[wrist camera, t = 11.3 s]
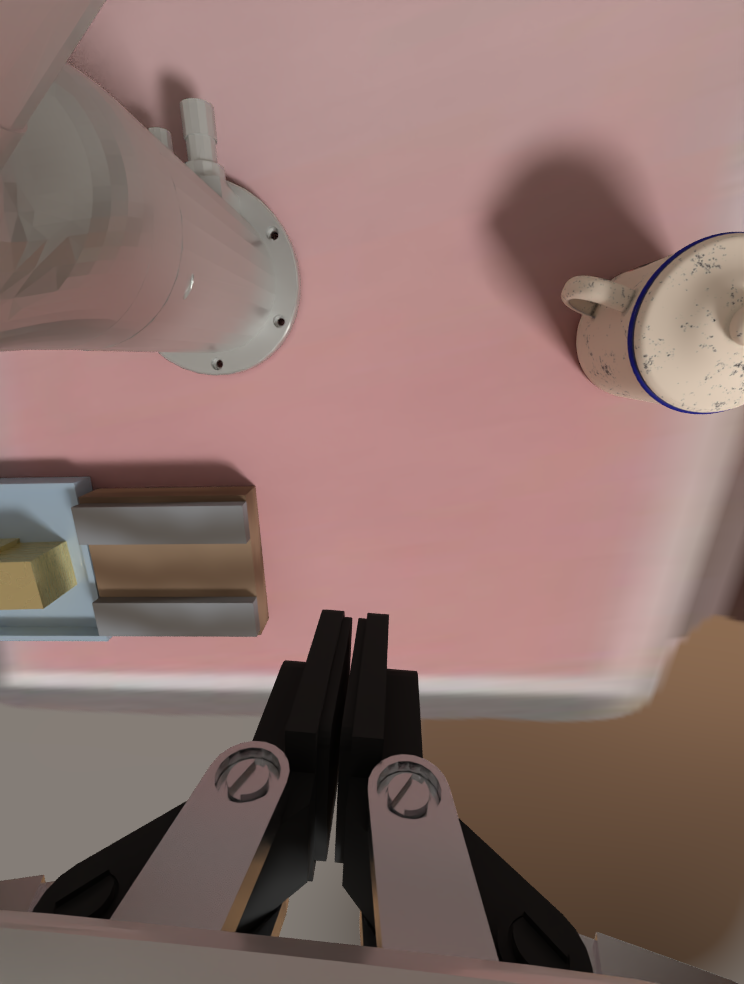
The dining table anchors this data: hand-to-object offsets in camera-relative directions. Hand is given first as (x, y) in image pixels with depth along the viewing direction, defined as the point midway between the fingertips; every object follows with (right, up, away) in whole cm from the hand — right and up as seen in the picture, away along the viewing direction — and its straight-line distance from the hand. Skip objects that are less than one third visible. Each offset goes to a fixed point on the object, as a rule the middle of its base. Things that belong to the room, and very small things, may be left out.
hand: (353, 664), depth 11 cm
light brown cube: (-27, -2, +28) cm, 39 cm away
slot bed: (-15, -1, +28) cm, 31 cm away
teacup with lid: (+18, +16, +21) cm, 32 cm away
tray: (-28, -1, +28) cm, 40 cm away
